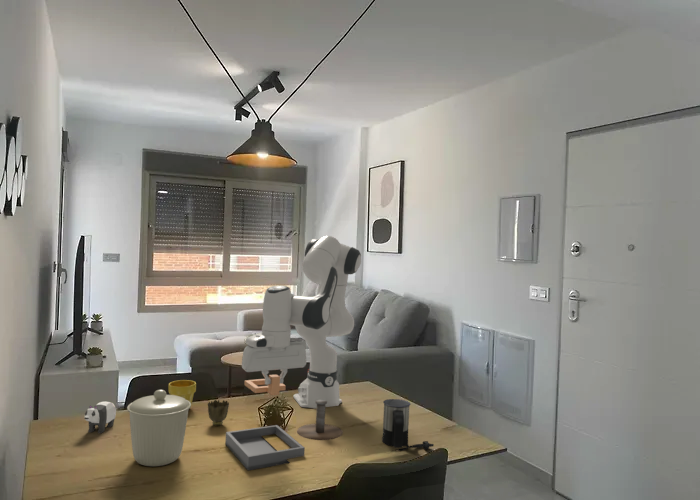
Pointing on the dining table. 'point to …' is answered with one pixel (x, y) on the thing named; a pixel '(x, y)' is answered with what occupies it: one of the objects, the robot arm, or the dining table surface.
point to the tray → (261, 447)
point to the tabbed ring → (271, 389)
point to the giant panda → (100, 416)
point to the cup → (218, 411)
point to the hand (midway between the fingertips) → (274, 383)
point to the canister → (158, 428)
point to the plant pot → (183, 389)
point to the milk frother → (398, 425)
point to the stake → (320, 426)
